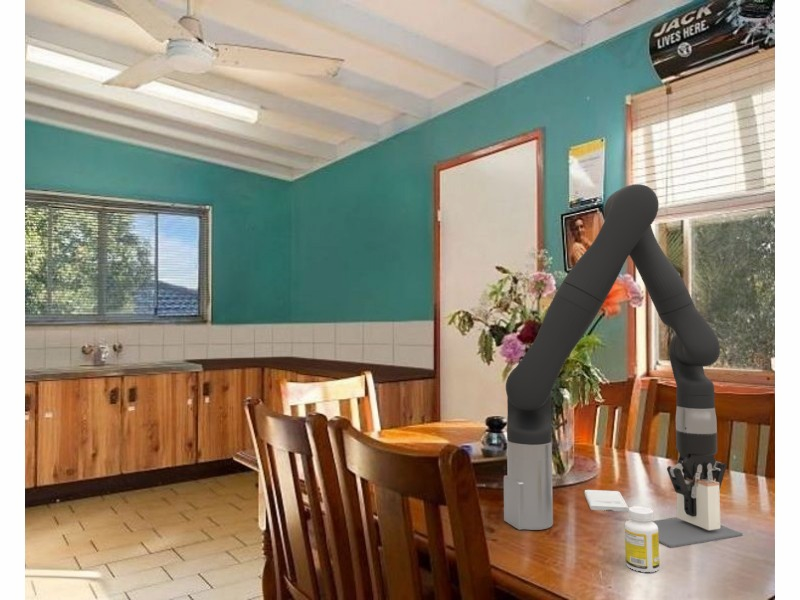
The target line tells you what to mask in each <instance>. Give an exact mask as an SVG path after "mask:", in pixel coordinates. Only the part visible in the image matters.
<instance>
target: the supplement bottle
mask: <svg viewBox="0 0 800 600" xmlns="http://www.w3.org/2000/svg"><path fill="white" fill-rule="evenodd" d="M628 508H629V512H628V518H629V519H628V520H626V521H625V523H624V541H625V543H624V545H625V546H624V547H625V548H624V549H625V563H626V566H627V568H628V569H630V568H631V570H632V569H633V570H632V571H635V570H636V571H635V572H638V571H641V572H640V573H645V572H650V573H656V572H658V571H659V570H660V548H659V546H660V545H659V544H660V543H659V537H658V527H657V525H656V524H655V523H654V522H652V521H654V518H655V516H654V511H653V509H652V508H649V507H647V506H646V507H645V506H630V507H628ZM655 571H656V572H655Z"/></svg>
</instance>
